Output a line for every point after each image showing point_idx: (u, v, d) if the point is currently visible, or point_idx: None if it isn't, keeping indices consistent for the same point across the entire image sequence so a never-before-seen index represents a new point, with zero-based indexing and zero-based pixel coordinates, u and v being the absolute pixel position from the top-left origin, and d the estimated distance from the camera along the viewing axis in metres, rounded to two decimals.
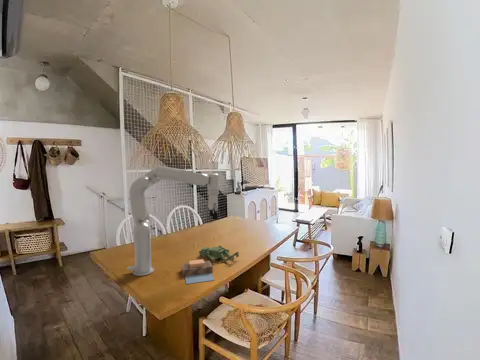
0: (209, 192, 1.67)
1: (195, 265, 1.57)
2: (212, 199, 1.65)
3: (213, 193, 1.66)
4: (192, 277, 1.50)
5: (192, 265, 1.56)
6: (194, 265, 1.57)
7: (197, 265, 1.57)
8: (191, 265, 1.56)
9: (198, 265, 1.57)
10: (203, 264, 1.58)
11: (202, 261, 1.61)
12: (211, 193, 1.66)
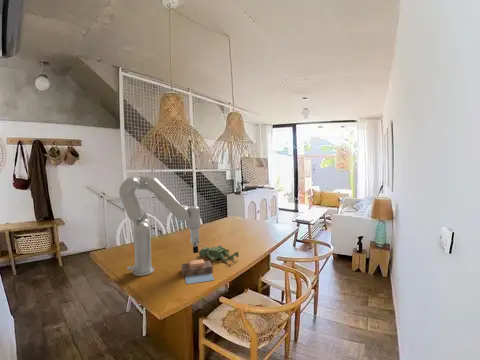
0: (190, 226, 1.65)
1: (195, 265, 1.57)
2: (193, 233, 1.63)
3: (194, 227, 1.64)
4: (192, 277, 1.50)
5: (192, 265, 1.56)
6: (194, 265, 1.57)
7: (197, 265, 1.57)
8: (191, 265, 1.56)
9: (198, 265, 1.57)
10: (203, 264, 1.58)
11: (202, 261, 1.61)
12: (192, 227, 1.64)
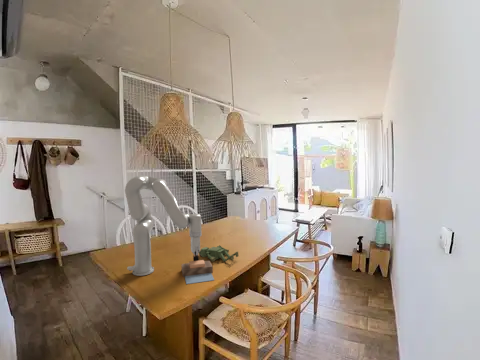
0: (191, 234, 1.59)
1: (195, 266, 1.56)
2: (194, 242, 1.58)
3: (195, 235, 1.59)
4: (192, 277, 1.50)
5: (192, 266, 1.55)
6: (194, 266, 1.56)
7: (197, 266, 1.56)
8: (191, 266, 1.55)
9: (198, 266, 1.57)
10: (203, 265, 1.57)
11: (202, 262, 1.60)
12: (193, 235, 1.59)
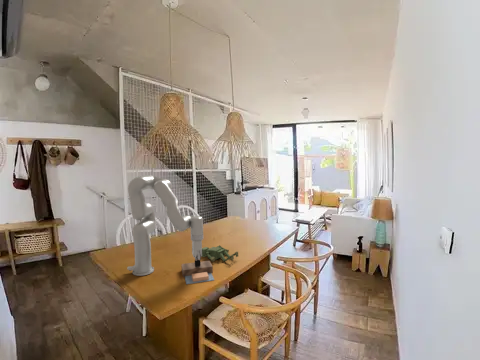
0: (192, 238, 1.52)
1: None
2: (195, 246, 1.50)
3: (197, 239, 1.52)
4: None
5: None
6: None
7: None
8: None
9: None
10: None
11: None
12: (194, 239, 1.52)
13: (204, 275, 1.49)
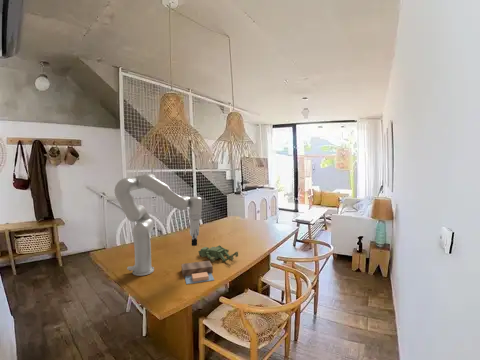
0: (190, 217, 1.57)
1: None
2: (193, 225, 1.55)
3: (194, 218, 1.56)
4: None
5: None
6: None
7: None
8: None
9: None
10: None
11: None
12: (192, 218, 1.56)
13: (204, 275, 1.49)
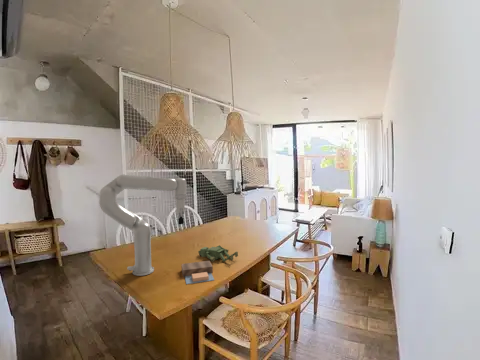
0: (176, 197, 1.67)
1: None
2: (178, 204, 1.65)
3: (179, 198, 1.66)
4: None
5: None
6: None
7: None
8: None
9: None
10: None
11: None
12: (177, 198, 1.66)
13: (204, 275, 1.49)
